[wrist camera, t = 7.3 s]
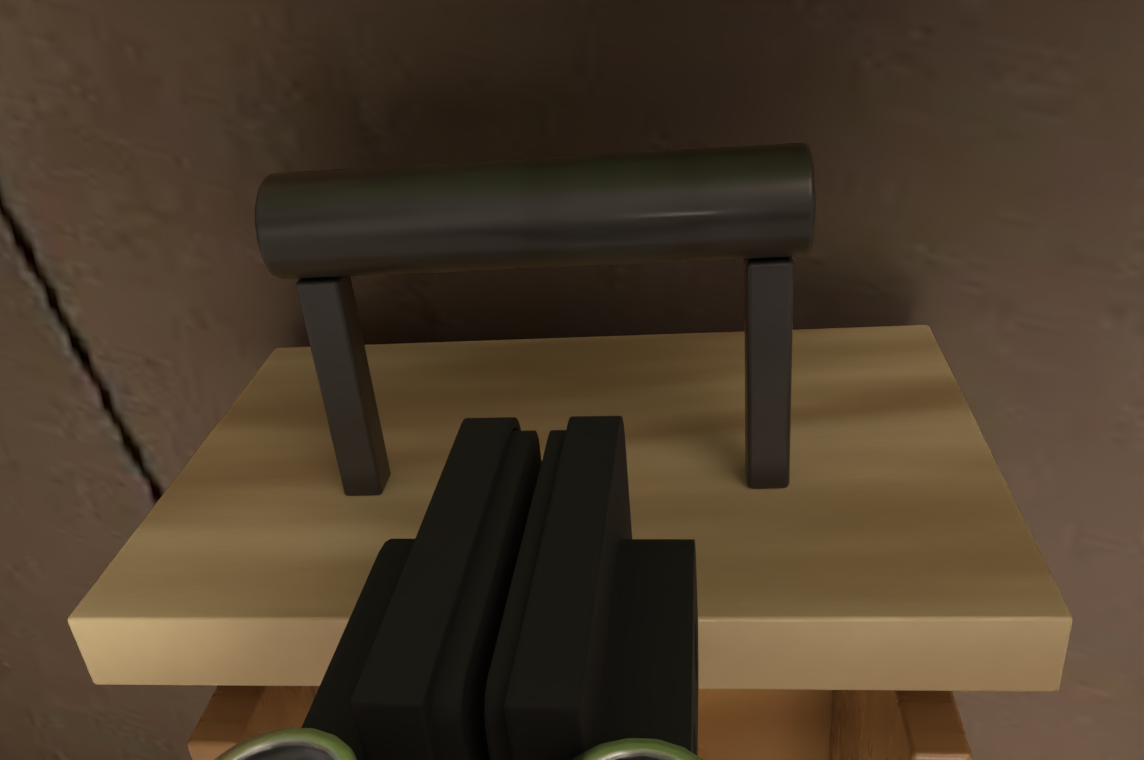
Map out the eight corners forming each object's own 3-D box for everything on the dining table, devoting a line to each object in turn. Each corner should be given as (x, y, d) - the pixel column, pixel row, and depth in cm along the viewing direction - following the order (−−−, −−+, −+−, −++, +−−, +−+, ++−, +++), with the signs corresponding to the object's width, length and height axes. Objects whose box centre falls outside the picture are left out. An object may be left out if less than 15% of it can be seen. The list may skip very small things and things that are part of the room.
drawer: (212, 99, 18) (-82, 273, 11) (953, 49, 16) (1154, 215, 9) (391, 807, 27) (289, 1151, 20) (884, 818, 25) (961, 1196, 18)
